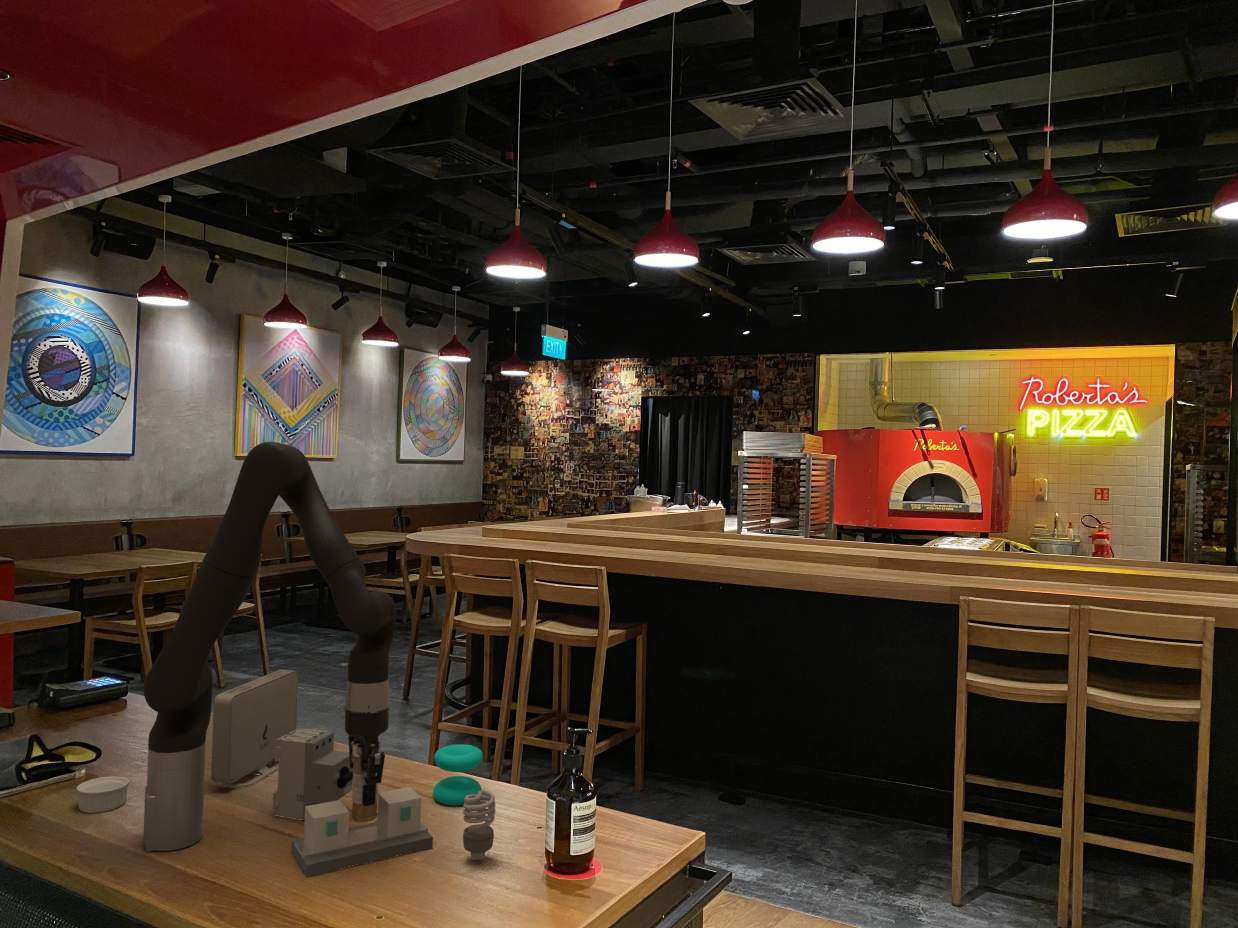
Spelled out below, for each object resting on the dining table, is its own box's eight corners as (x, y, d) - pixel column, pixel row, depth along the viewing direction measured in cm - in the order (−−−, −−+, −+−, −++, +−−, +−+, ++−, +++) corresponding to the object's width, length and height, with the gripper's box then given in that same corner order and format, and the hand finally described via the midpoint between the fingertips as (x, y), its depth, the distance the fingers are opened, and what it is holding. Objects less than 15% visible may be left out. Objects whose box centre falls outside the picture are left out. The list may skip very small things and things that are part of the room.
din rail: (303, 858, 143) (303, 855, 143) (294, 845, 148) (294, 842, 148) (427, 831, 156) (427, 828, 156) (416, 819, 161) (416, 817, 161)
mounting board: (306, 876, 141) (306, 864, 141) (291, 850, 150) (291, 839, 150) (432, 847, 153) (432, 836, 153) (411, 825, 163) (411, 815, 163)
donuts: (424, 751, 175) (456, 739, 184) (422, 800, 175) (455, 785, 184) (461, 761, 170) (492, 748, 179) (459, 811, 170) (491, 795, 179)
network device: (236, 795, 174) (240, 698, 174) (198, 791, 176) (202, 694, 176) (304, 755, 199) (307, 669, 200) (270, 751, 201) (273, 667, 201)
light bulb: (479, 850, 153) (481, 783, 153) (500, 860, 150) (502, 791, 150) (454, 860, 149) (457, 792, 149) (476, 871, 145) (478, 800, 145)
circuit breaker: (339, 825, 162) (342, 746, 162) (272, 816, 165) (275, 739, 165) (359, 809, 169) (361, 734, 169) (294, 802, 172) (297, 727, 172)
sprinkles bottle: (368, 810, 155) (371, 737, 155) (382, 818, 152) (384, 742, 152) (346, 817, 152) (348, 742, 152) (359, 825, 149) (361, 748, 149)
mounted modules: (313, 855, 143) (314, 820, 144) (303, 840, 149) (305, 806, 149) (421, 832, 154) (422, 799, 154) (408, 818, 160) (409, 786, 160)
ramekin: (66, 808, 166) (66, 786, 166) (111, 793, 173) (112, 772, 173) (93, 818, 161) (93, 795, 161) (138, 803, 169) (139, 781, 169)
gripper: (335, 697, 156) (332, 790, 156) (358, 717, 144) (355, 818, 144) (375, 692, 160) (372, 783, 160) (401, 711, 148) (398, 809, 148)
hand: (364, 799), depth 152 cm, fingers closed on sprinkles bottle, 4 cm apart
